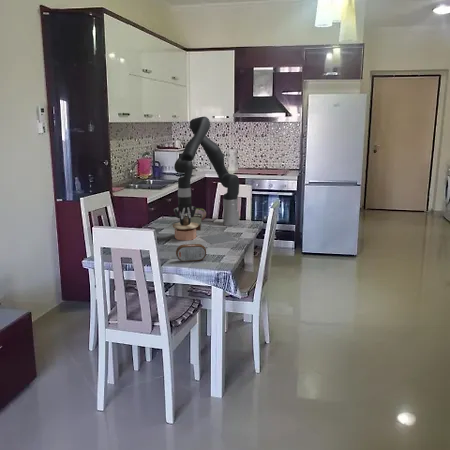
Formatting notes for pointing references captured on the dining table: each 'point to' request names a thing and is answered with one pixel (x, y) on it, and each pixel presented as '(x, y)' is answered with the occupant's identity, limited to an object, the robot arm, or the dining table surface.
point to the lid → (185, 225)
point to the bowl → (185, 234)
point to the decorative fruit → (201, 212)
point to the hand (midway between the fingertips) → (185, 224)
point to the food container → (196, 219)
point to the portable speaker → (191, 252)
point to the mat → (218, 238)
